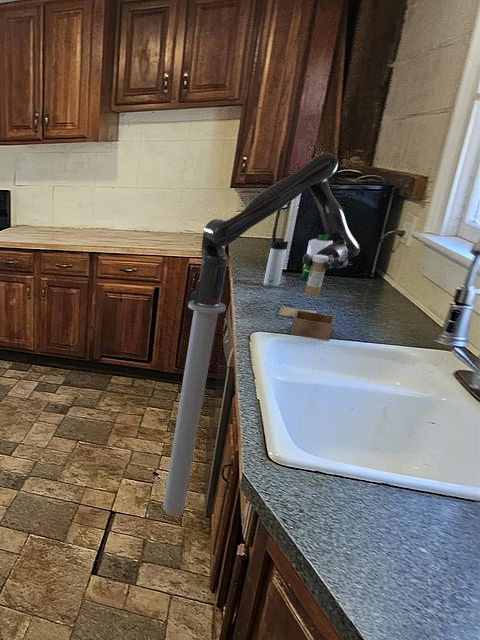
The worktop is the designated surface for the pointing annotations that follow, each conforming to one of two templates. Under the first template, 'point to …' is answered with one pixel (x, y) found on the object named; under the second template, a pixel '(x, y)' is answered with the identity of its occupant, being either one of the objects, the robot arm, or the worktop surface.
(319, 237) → the milk carton
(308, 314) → the cardboard box
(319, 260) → the sprinkles bottle
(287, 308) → the cork mat
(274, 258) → the travel mug
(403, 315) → the worktop surface
